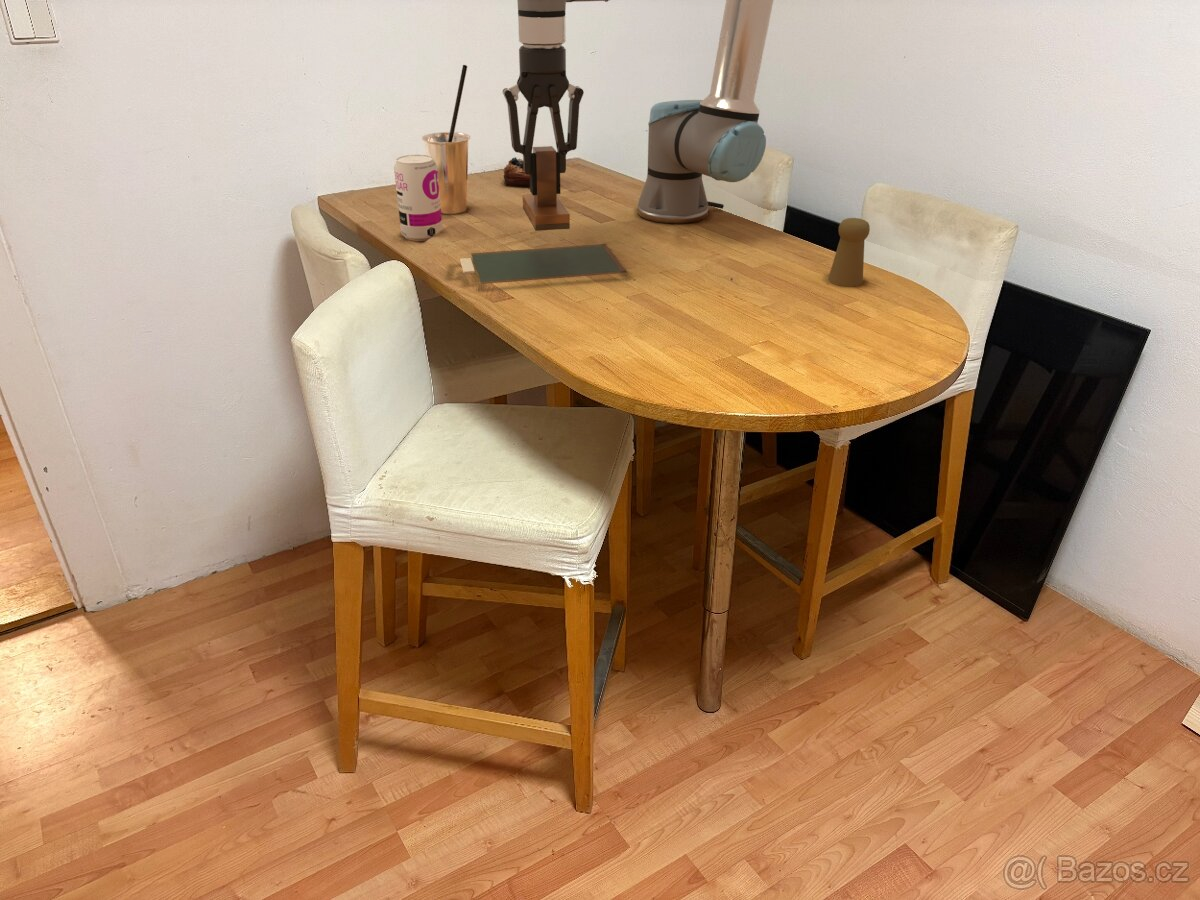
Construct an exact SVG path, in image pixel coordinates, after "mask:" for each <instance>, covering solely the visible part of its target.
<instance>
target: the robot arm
mask: <svg viewBox="0 0 1200 900" xmlns="http://www.w3.org/2000/svg"><path fill="white" fill-rule="evenodd" d="M609 1H610V0H517V19H518V20H517V24H518V27H517V28H518V30H517V31H518V42H519V43H520V44H521V46H520V47H519V48H518V63H519V76H518V78H517V81H516V84H515V85H513V86H511V87H509V88H508V87H504V88H503V89H502V95H503V97H504V99H505V102H506V104H507V113H508V114H507V115H508V122H509V133H510V141H511V148H512V150H513V151H514V152H515V153H518V154H521V155H522V160H523V169H524V172H525V174H526V175H530V188H529V192H530V194H532V195H537V175H536V156H535V154H534V153H533V147H534V141H535V139H534V138H535V131H536V124H537V118H538V114H539V109H541V108H545V107H546V108H548V109H549V113H550V119H551V125H552V128H553V130H552V131H553V135H554V140H555V145H556V189H557V195H561V174H565V173H566V172H567V155H568V153H569V152H571V151H575V150H577V147H578V135H579V134H578V133H579V132H578V131H579V117H580V104H581V101H582V98H583V96H584V94H585V92H584V89H583V88H581V87H580V86H577V85H576V86H575V85H574V84H571V83H570V81H569V79H568V77H567V49H566V48H565V47H564V46H563V44H564V43H566V42H567V40H566V39H567V36H566V35H567V34H566V30H567V29H566V8H567V6H566V5H567V3H573V2H579V3H580V2H605V3H608V2H609ZM774 1H775V0H725V4H724V11H723V15H722V21H721V28H720V32H719V37H718V38H719V39H718V45H717V50H716V55H715V61H714V69H713V73H712V79H711V83H710V84H711V85H710V90H709V94H708V95H707V96H706V97H705V98H704V99H680V100H668V101H662V102H657V103H655V104H653V105H652V106H651V108H650V114H649V121H648V124H647V125H648V137H647V139H648V140H647V146H648V147H647V175H646V179H645V182H644V185H643V188H642V190H641V193H640V197H639V199H638V202H637V214H638V215H639V217H641V218H643V219H645V220H648V221H652V222H657V223H662V224H663V223H664V224H689V223H696V222H699V221H702V220H704V219H705V218H707V217H708V215H709V207H712V208H716V209H721V210H722V209H724V207H725V205H724V204H723V203H719V202H713V201H708V198H707V194H706V190H705V186H704V185H705V184H704V182H703V175H704V176H707V177H709V178H712V179H713V180H715V181H722V182H727V183H737V182H741V181H743V180H745V179H747V178H749V176H750V175H751V174H752V173H753V172H755V171H756V169H757V168H758V166H759V165H760V163H761V162H762V160H763V157H764V155H765V151H766V147H767V137H766V135H765V131H764V129H763V128H762V126H761V125H760V124H759V117H760V113H761V112H760V109H759V107H758V105H757V104H756V102H755V97H756V92H757V87H758V82H759V77H760V71H761V67H762V61H763V56H764V52H765V46H766V42H767V35H768V31H769V26H770V20H771V16H772V11H773V5H774ZM566 92H567V97H568V98H569V103H568V115H567V116H568V119H567V134H566V136H567V137H566V140H565V134H564V129H563V122H562V117H561V116H562V115H561V106H560V101H562V98H563V97H564V95H565V94H566ZM519 93H521V95H522V96H523V98H524V99H525V101H527V107H526V110H527V111H526V119H525V126H524V132H523V133H524V134H523V140H522V141H523V142H522V144H521V133H520V132H521V131H520V125H519V124H520V122H519V113H518V106H517V101H519Z"/></svg>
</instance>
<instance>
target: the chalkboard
mask: <svg viewBox="0 0 1200 900" xmlns="http://www.w3.org/2000/svg"><path fill="white" fill-rule="evenodd" d="M470 254H471V259H472V262H473V265H474V266H475V269H476V272H477V275H478V278H479V281H480V283H481V285H486V284H498V283H499V284H500V283H512V282H525V281H538V280H550V279H551V280H552V279H563V278H576V277H589V276H590V277H591V276H601V275H602V276H603V275H616V274H627V273H628V271H627V269H626V268H625V267H624V265H623V264H622V263H621V262H620V260H618V258H617V256H616V255H615V254H614V253H613V251H612V250H611V249H610V248H609V246H608V245H607V244H606V243H601V244H586V245H571V246H569V245H568V246H558V247H543V248H542V247H541V248H528V249H513V250H499V251H485V252H470Z"/></svg>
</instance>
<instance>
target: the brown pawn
mask: <svg viewBox="0 0 1200 900" xmlns="http://www.w3.org/2000/svg"><path fill="white" fill-rule="evenodd" d="M870 231H871V228H870V224H869V222H868V221H867V220H866V219H863V218H858V217H847V218H845V219H843V220H842V221H840V223H839V225H838V235H839V237H840V238H839V242H838V244H837V248H836V251H835V255H834V257H833V260H832V264H831V267H830V271H829V274H828V277H827V279H828V280H827V281H829V283H832V284H834V285H836V286H840V287H847V288H849V287H859V286H861V285H862V284H863V282H864V262H865V261H864V259H865V240H866V239H867V238H868V237H869V234H870Z"/></svg>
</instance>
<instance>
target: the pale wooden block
mask: <svg viewBox="0 0 1200 900" xmlns="http://www.w3.org/2000/svg"><path fill="white" fill-rule="evenodd" d="M459 263H460V267H461V269H462V273H463V275H470V274H475V273H476V271H475V267H474V263H473V260H472V257H462V258H459Z"/></svg>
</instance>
